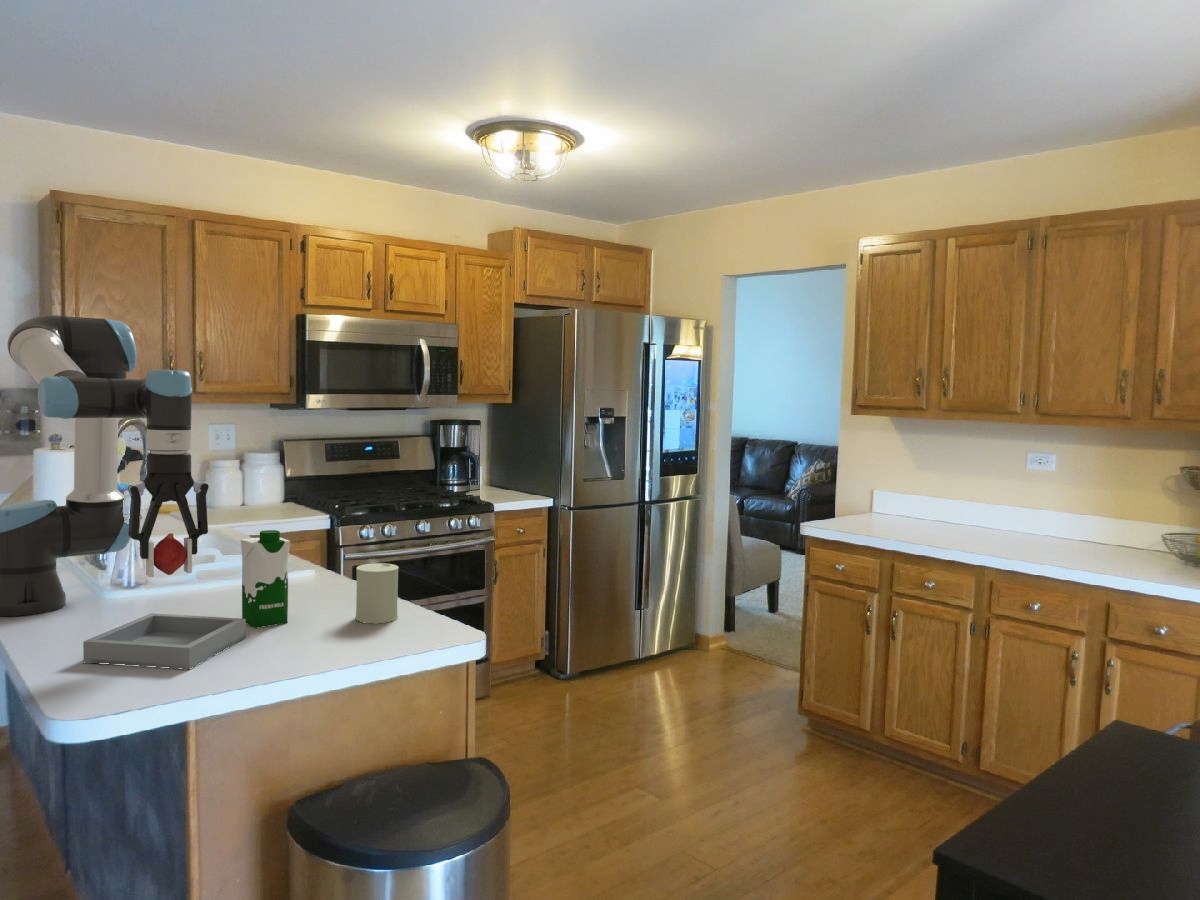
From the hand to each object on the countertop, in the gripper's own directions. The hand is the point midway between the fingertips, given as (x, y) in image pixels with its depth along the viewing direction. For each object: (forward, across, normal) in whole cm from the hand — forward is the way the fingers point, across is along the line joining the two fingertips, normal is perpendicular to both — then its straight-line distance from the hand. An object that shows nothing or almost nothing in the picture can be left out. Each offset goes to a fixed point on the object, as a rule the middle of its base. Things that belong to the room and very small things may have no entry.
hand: (169, 573), depth 161 cm
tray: (+15, 0, 0) cm, 15 cm away
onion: (0, 0, 0) cm, 0 cm away
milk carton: (+15, +21, +10) cm, 28 cm away
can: (+15, +42, 0) cm, 45 cm away
